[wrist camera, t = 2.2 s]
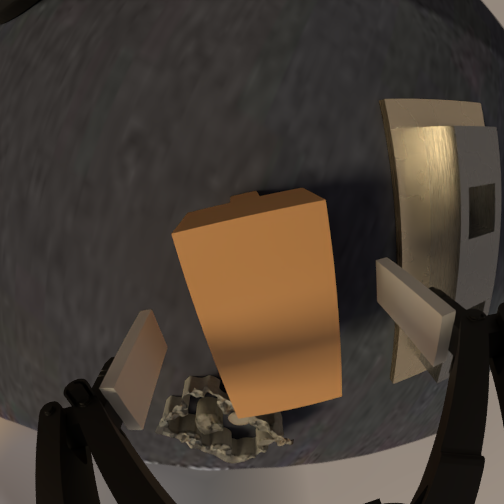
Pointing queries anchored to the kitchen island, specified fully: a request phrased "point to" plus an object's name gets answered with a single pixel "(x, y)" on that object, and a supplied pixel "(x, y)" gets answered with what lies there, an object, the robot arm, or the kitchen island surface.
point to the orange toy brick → (266, 297)
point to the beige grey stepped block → (443, 208)
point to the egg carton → (217, 423)
